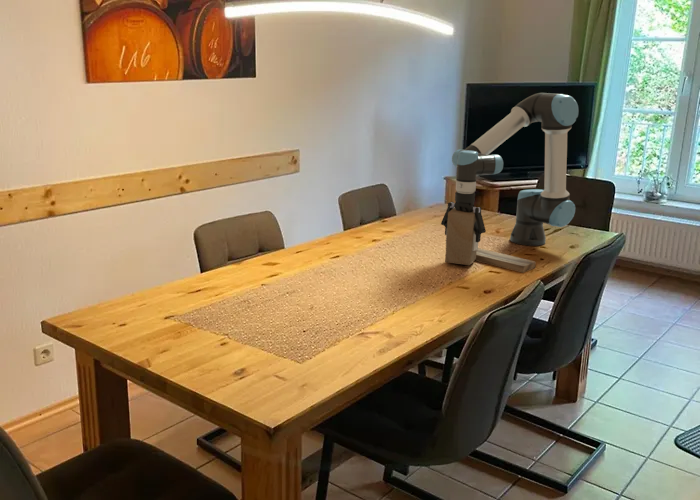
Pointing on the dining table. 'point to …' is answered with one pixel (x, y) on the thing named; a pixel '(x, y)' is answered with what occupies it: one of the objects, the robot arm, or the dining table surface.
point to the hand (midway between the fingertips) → (461, 246)
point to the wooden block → (460, 237)
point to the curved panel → (504, 260)
